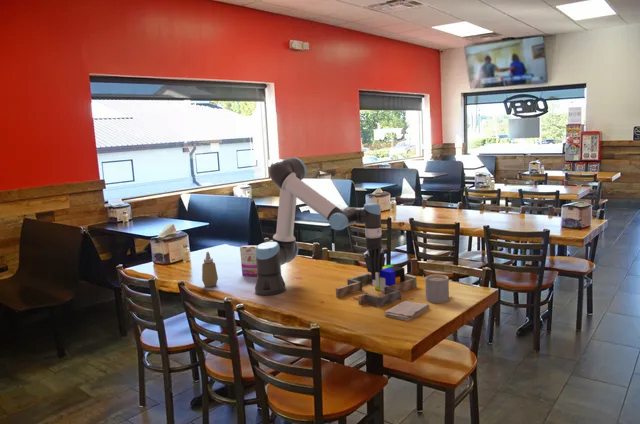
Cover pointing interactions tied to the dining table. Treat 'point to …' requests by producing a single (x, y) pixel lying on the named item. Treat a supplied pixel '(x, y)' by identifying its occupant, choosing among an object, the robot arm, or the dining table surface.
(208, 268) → the squeeze bottle
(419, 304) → the washcloth
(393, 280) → the puzzle toy
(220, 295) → the dining table surface
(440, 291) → the coffee mug
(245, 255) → the candy bar box
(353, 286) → the trap lane
